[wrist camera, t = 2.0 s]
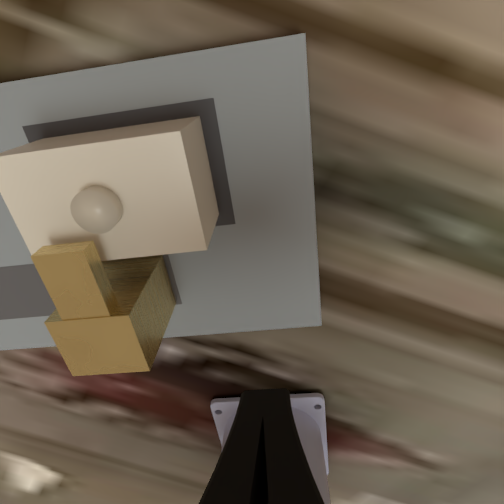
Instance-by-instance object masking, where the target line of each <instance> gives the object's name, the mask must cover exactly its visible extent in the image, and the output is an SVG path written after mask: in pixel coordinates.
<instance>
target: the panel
mask: <svg viewBox="0 0 504 504" xmlns="http://www.w3.org/2000/svg"><path fill="white" fill-rule="evenodd" d="M196 116H200V120H201V125H202V130H203V135H204V140H205V145H206V150H207V156H208V161H209V166H210V171H211V176H212V181H213V186H214V191H215V196H216V201H217V206H218V211H219V216H218V219H217V222H216V225H215V228H214V231H213V234H212V237H211V240H210V243H209V246H208V249H207V250H204V251H194V252H184V253H174V254H165V255H163V259H164V262H165V265H166V269H167V272H168V276H169V279H170V282H171V286H172V289H173V292H174V296H175V299H176V302H177V303H176V305H175V308H174V310H173V313H172V315H171V318H170V321H169V323H168V326H167V328H166V331H165V334H164V336H163V338H168V337H181V336H194V335H207V334H220V333H233V332H246V331H259V330H272V329H285V328H298V327H311V326H322V322H321V304H320V286H319V268H318V250H317V232H316V214H315V196H314V178H313V160H312V143H311V125H310V107H309V89H308V71H307V53H306V35H305V33H302V34H296V35H290V36H284V37H278V38H272V39H266V40H260V41H254V42H248V43H242V44H235V45H229V46H223V47H217V48H211V49H205V50H199V51H193V52H187V53H181V54H175V55H169V56H163V57H157V58H150V59H144V60H138V61H132V62H126V63H120V64H114V65H108V66H102V67H96V68H90V69H84V70H78V71H71V72H65V73H59V74H53V75H47V76H41V77H35V78H29V79H23V80H17V81H11V82H5V83H0V153H1V152H4V151H7V150H10V149H13V148H16V147H19V146H22V145H25V144H28V143H31V142H34V141H37V140H40V139H43V138H50V137H57V136H64V135H71V134H78V133H85V132H92V131H99V130H106V129H112V128H119V127H126V126H133V125H140V124H147V123H154V122H161V121H168V120H175V119H182V118H189V117H196ZM30 256H31V253H30V251H29V249H28V247H27V245H26V243H25V241H24V239H23V237H22V235H21V233H20V231H19V229H18V227H17V225H16V223H15V221H14V219H13V217H12V215H11V213H10V211H9V209H8V207H7V205H6V203H5V201H4V199H3V197H2V195H1V193H0V350H12V349H25V348H38V347H51V346H56V344H55V342H54V340H53V338H52V337H51V335H50V333H49V331H48V329H47V327H46V325H45V324H44V322H45V321H46V320H47V319H48V317H49V316H50V315H51V314H52V313H53V312H54V310H55V309H56V307H55V305H54V303H53V301H52V299H51V297H50V295H49V293H48V291H47V289H46V287H45V285H44V283H43V281H42V279H41V277H40V275H39V273H38V271H37V269H36V267H35V265H34V263H33V261H32V259H31V257H30ZM135 258H136V257H135ZM106 261H107V260H106Z"/></svg>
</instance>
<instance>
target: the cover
mask: <svg viewBox="0 0 504 504" xmlns="http://www.w3.org/2000/svg"><path fill="white" fill-rule="evenodd" d="M0 193H1V195H2V197H3V199H4V201H5V203H6V205H7V207H8V209H9V211H10V213H11V215H12V217H13V219H14V221H15V223H16V225H17V227H18V229H19V231H20V233H21V235H22V237H23V239H24V241H25V243H26V245H27V247H28V249H29V251H30V253H31V255H33V254H34V253H35V252H36V251H37V250H39V249H40V248H41V247H42V246H47V245H56V244H66V243H75V242H84V241H94V243H95V246H96V248H97V251H98V253H99V256H100V258H101V261H106V260H116V259H126V258H135V257H145V256H155V255H165V254H174V253H184V252H194V251H204V250H207V249H208V246H209V243H210V240H211V237H212V234H213V231H214V228H215V225H216V222H217V219H218V216H219V211H218V206H217V201H216V196H215V191H214V186H213V181H212V176H211V171H210V166H209V161H208V156H207V150H206V145H205V140H204V135H203V130H202V125H201V120H200V116H196V117H189V118H182V119H175V120H168V121H161V122H154V123H147V124H140V125H133V126H126V127H119V128H112V129H106V130H99V131H92V132H85V133H78V134H71V135H64V136H57V137H50V138H43V139H40V140H37V141H34V142H31V143H28V144H25V145H22V146H19V147H16V148H13V149H10V150H7V151H4V152H1V153H0Z"/></svg>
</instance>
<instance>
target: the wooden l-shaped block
mask: <svg viewBox="0 0 504 504" xmlns="http://www.w3.org/2000/svg"><path fill="white" fill-rule="evenodd" d="M30 257H31V259H32V261H33V263H34V265H35V267H36V269H37V271H38V273H39V275H40V277H41V279H42V281H43V283H44V285H45V287H46V289H47V291H48V293H49V295H50V297H51V299H52V301H53V303H54V305H55V307H56V309H55V310H54V312H53V313H52V314H51V315H50V316H49V317H48V319H47V320H46V321H45V322H44V324H45V325H46V327H47V329H48V331H49V333H50V335H51V337H52V338H53V340H54V342H55V344H56V346H57V348H58V350H59V351H60V353H61V355H62V357H63V359H64V361H65V363H66V364H67V366H68V368H69V370H70V372H71V374H72V376H83V375H98V374H113V373H128V372H143V371H150V370H151V367H152V364H153V362H154V359H155V357H156V354H157V352H158V349H159V346H160V344H161V341H162V339H163V336H164V334H165V331H166V328H167V326H168V323H169V321H170V318H171V315H172V313H173V310H174V308H175V305H176V303H177V302H176V299H175V296H174V292H173V289H172V286H171V282H170V279H169V276H168V272H167V269H166V265H165V262H164V259H163V255H155V256H145V257H136V258H126V259H116V260H107V261H101V258H100V256H99V253H98V251H97V248H96V246H95V243H94V241H84V242H75V243H66V244H56V245H47V246H42V247H41V248H40V249H39V250H37V251H36V252H35V253H34V254H33V255H31V256H30Z"/></svg>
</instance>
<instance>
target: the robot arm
mask: <svg viewBox="0 0 504 504" xmlns="http://www.w3.org/2000/svg"><path fill="white" fill-rule="evenodd" d="M317 404H318V405H317ZM210 408H211V411H212V415H213V418H214V421H215V425H216V428H217V432H218V435H219V439H220V442H221V445H222V450H221V455H220V458H219V460H218V463H217V465H216V467H215V470H214V472H213V474H212V476H211V478H210V481H209V483H208V485H207V487H206V489H205V491H204V494H203V496H202V498H201V500H200V502H199V504H331V502H330V495H329V487H328V480H327V475H328V474H329V467H328V450H327V433H326V416H325V400H324V396H323V395H322V394H320V393H305V394H290V392H289V390H287V389H286V388H282V389H265V390H248V391H244V392H243V393H241V397H234V398H217V399H213V400H212V401H211V405H210Z"/></svg>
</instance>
